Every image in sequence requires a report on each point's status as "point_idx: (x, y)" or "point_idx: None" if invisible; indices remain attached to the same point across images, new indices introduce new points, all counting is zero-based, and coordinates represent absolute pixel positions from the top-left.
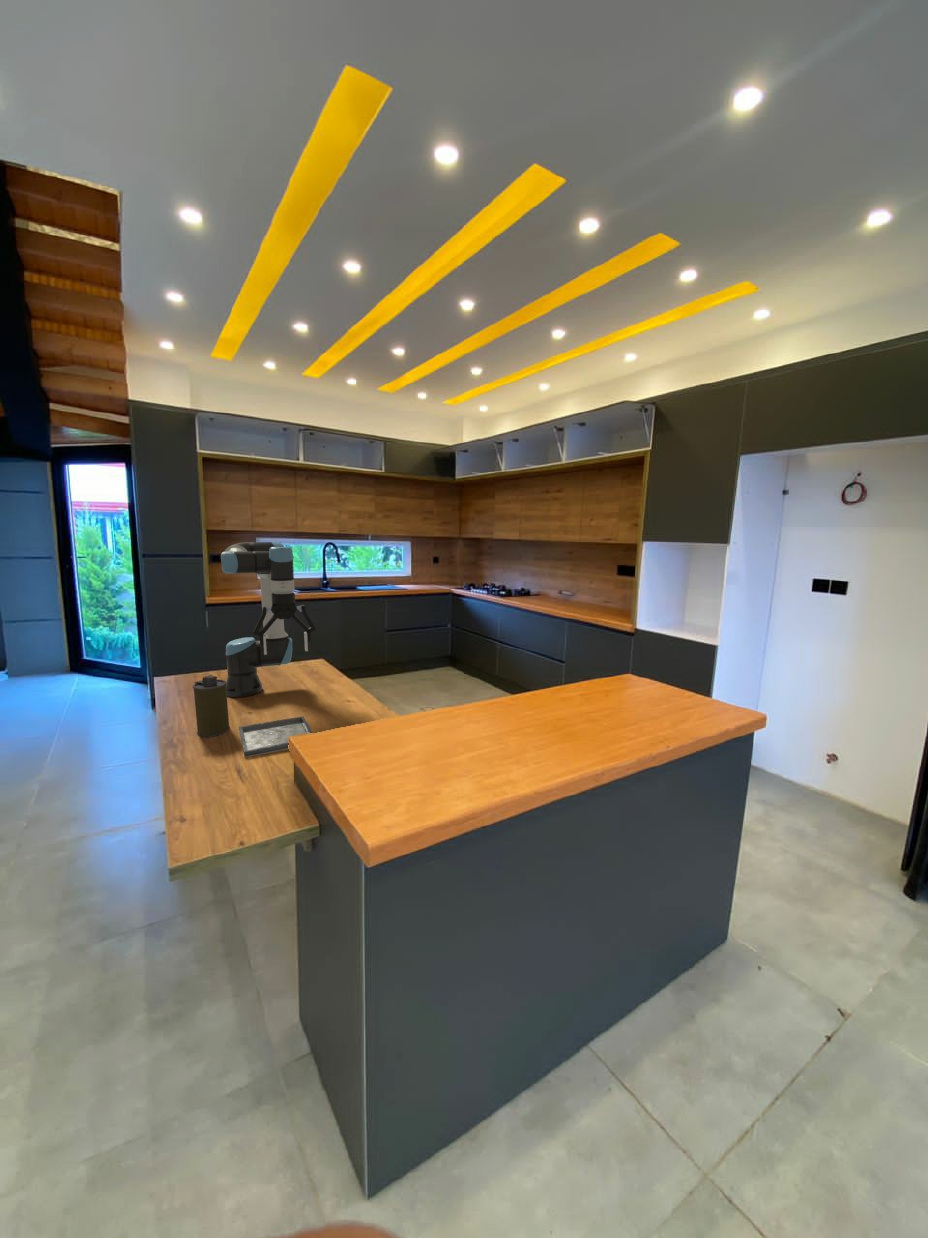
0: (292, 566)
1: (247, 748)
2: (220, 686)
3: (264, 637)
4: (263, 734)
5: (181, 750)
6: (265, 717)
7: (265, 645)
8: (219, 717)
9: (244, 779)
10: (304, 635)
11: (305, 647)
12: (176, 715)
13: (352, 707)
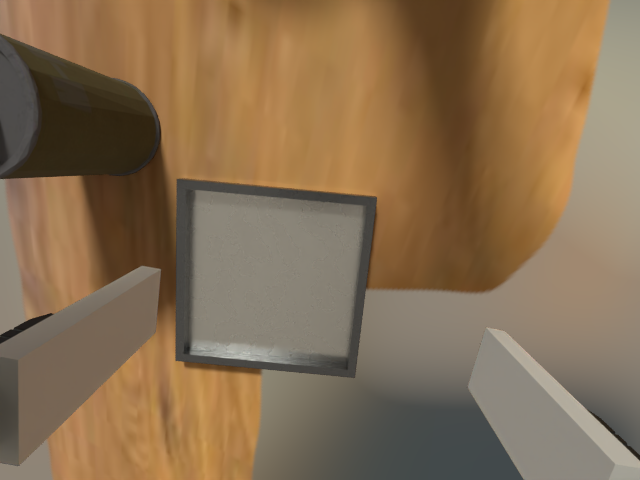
0: None
1: (191, 313)
2: (12, 170)
3: (18, 447)
4: (242, 245)
5: (37, 227)
6: (274, 93)
7: (100, 378)
8: (99, 171)
9: (172, 447)
10: (570, 447)
11: (483, 405)
12: None
13: (562, 160)
